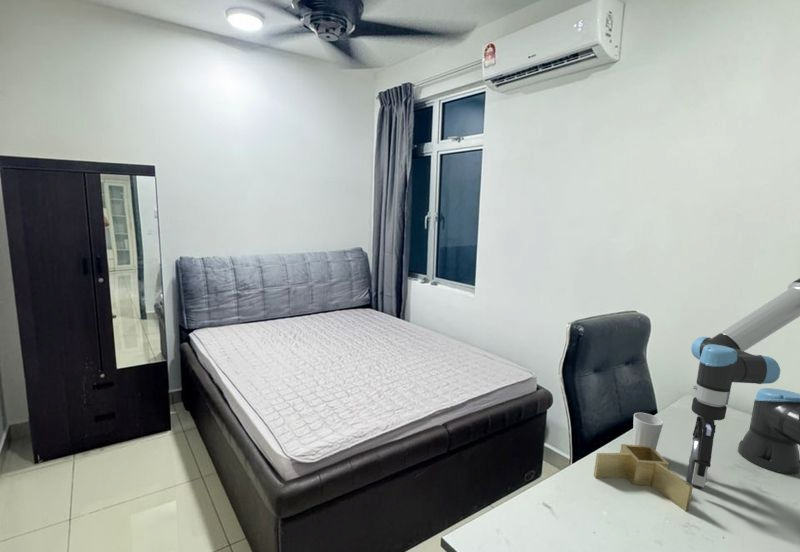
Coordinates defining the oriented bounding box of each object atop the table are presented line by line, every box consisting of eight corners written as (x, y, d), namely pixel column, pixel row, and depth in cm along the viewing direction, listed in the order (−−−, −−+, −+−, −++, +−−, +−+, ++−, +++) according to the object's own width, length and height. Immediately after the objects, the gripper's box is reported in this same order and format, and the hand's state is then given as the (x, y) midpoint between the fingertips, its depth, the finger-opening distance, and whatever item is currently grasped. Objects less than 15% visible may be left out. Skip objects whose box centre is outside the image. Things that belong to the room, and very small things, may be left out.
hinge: (648, 467, 125) (652, 446, 124) (689, 511, 107) (693, 486, 106) (584, 463, 125) (587, 441, 124) (614, 506, 107) (618, 481, 106)
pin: (696, 480, 120) (704, 438, 118) (706, 489, 117) (714, 446, 115) (682, 479, 121) (690, 437, 119) (691, 488, 117) (700, 445, 115)
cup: (629, 457, 130) (635, 421, 128) (626, 444, 138) (632, 410, 136) (659, 464, 127) (665, 427, 126) (654, 451, 135) (660, 416, 133)
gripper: (690, 383, 127) (678, 450, 130) (697, 413, 107) (682, 491, 110) (721, 390, 123) (708, 459, 126) (734, 422, 103) (717, 502, 106)
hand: (696, 474), depth 118 cm, fingers open, 11 cm apart
